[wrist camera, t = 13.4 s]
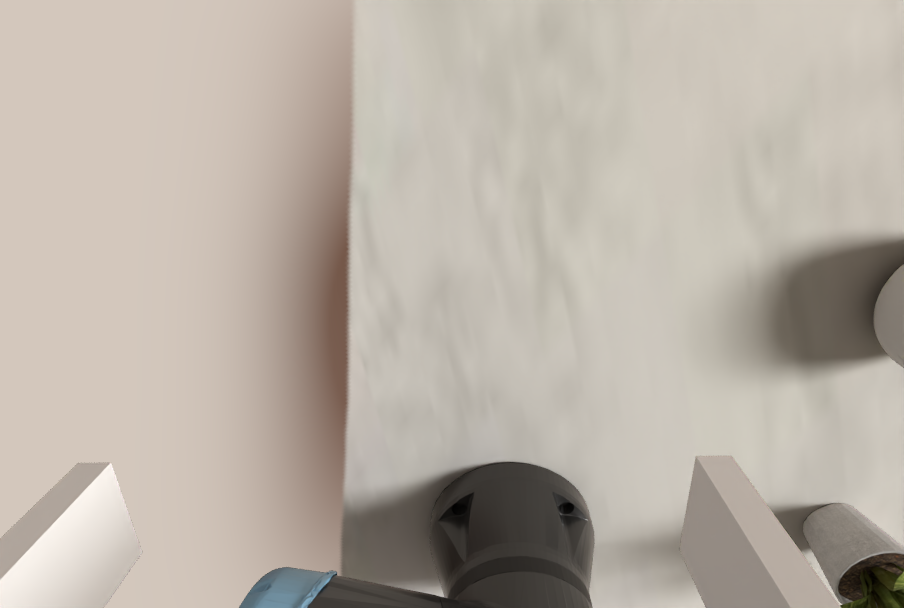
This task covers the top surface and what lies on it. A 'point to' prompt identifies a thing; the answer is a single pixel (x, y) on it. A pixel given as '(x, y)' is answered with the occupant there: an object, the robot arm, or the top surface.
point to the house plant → (856, 557)
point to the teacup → (891, 316)
